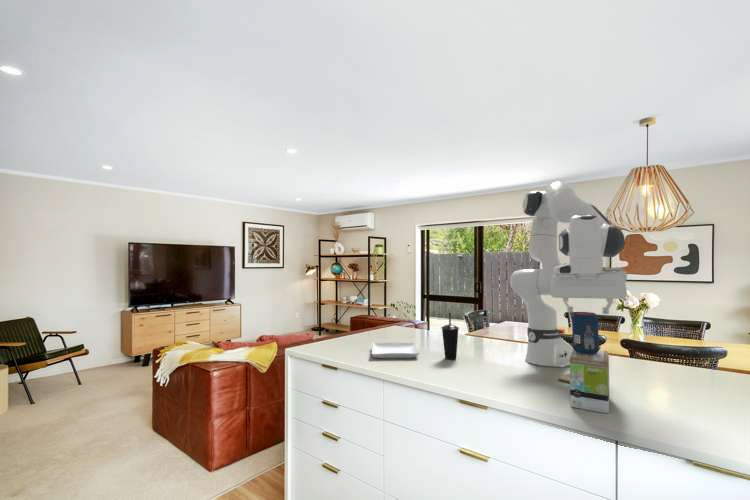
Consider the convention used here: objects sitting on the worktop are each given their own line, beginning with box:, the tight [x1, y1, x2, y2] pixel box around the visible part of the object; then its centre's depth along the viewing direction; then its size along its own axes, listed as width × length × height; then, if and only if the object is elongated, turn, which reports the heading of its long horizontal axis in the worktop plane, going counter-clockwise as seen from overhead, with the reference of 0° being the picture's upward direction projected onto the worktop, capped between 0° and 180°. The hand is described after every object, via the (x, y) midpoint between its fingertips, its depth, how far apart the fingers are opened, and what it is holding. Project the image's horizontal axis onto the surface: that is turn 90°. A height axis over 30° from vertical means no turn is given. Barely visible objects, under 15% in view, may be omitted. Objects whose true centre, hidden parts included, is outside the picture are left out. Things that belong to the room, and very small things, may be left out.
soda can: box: [571, 311, 600, 355], centre depth 115 cm, size 7×7×12 cm
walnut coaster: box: [557, 372, 570, 384], centre depth 134 cm, size 10×10×1 cm
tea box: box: [569, 349, 610, 414], centre depth 114 cm, size 15×10×15 cm
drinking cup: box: [441, 312, 460, 361], centre depth 167 cm, size 8×8×20 cm
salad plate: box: [371, 342, 420, 359], centre depth 177 cm, size 21×21×3 cm
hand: (587, 313), depth 115 cm, fingers open, 8 cm apart
